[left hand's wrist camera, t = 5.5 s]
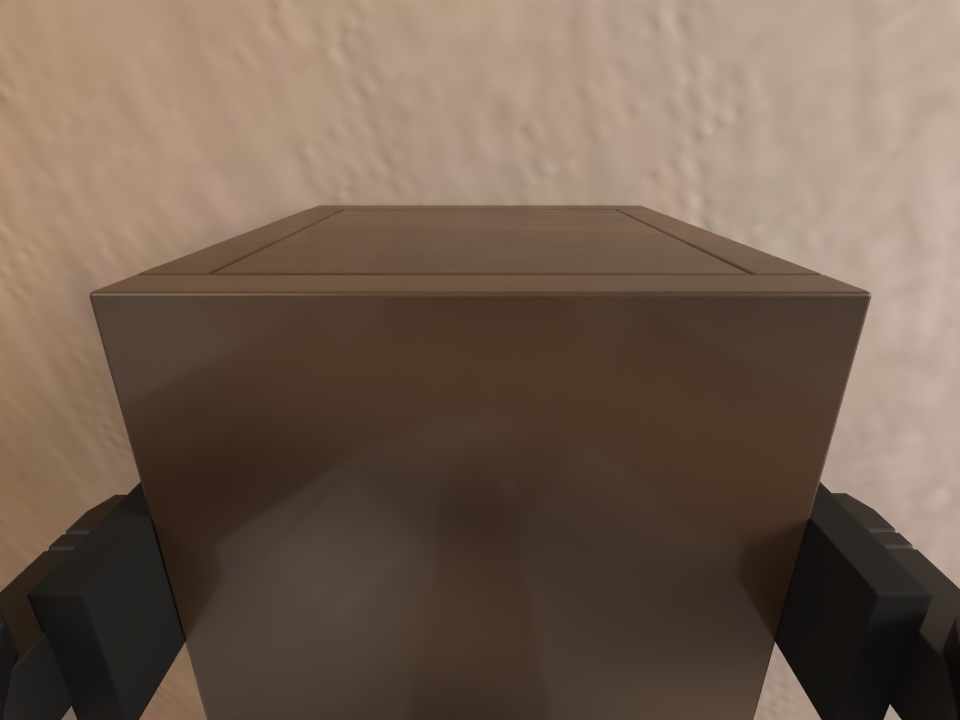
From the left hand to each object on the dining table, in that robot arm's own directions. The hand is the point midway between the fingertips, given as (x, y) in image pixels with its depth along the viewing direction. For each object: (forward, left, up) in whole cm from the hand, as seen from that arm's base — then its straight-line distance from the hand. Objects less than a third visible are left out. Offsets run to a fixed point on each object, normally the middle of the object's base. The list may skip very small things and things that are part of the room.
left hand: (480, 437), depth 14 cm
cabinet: (+5, -1, -6) cm, 8 cm away
